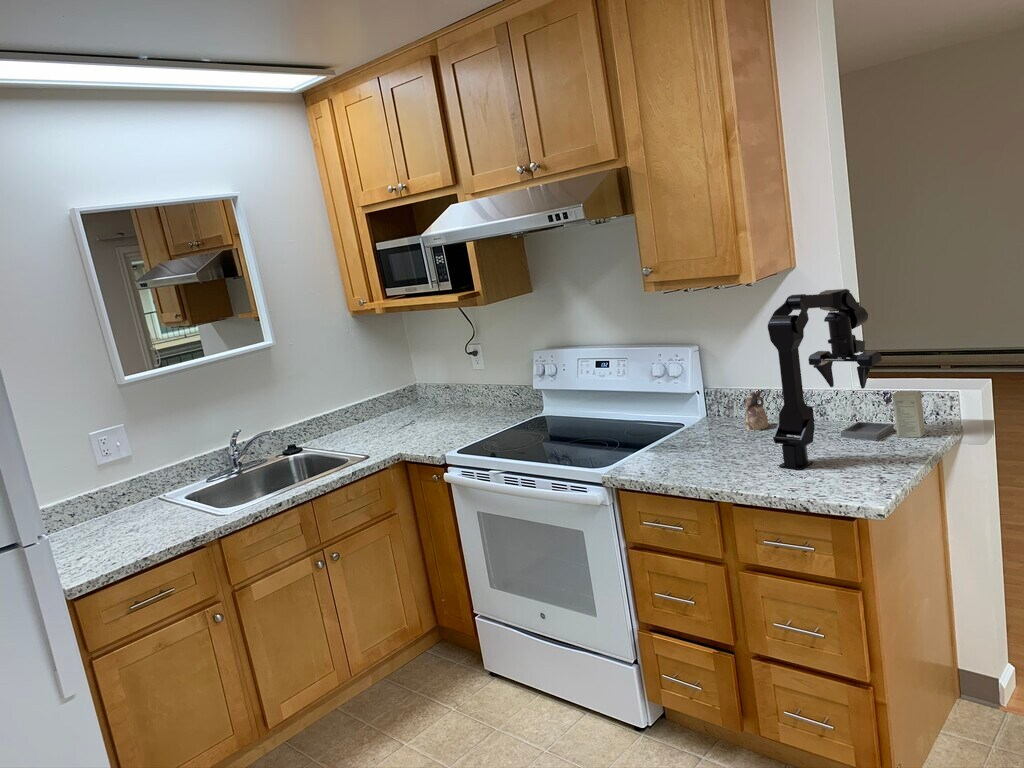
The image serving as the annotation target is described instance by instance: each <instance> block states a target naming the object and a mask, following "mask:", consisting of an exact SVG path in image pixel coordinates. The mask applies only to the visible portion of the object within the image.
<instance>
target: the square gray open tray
mask: <svg viewBox="0 0 1024 768" xmlns="http://www.w3.org/2000/svg"><path fill="white" fill-rule="evenodd" d="M894 431H895V427H894V423H879V422H868V421H867V422H866V421H857V422H855V423H854V424H851V425H850V426H848V427H846V428H844V429H843V430H840V438H841V437H847V438H846V439H852V438H858V439H857V440H864V439H869V440H868V441H875V440H877V441H879V440H881V439H883V438H884V437H886V436H887V435H890V432H891V433H892V432H894ZM885 435H886V436H885ZM883 436H884V437H883ZM880 438H881V439H880Z"/></svg>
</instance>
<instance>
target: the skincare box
mask: <svg viewBox="0 0 1024 768" xmlns="http://www.w3.org/2000/svg"><path fill="white" fill-rule="evenodd" d="M891 396H892V403H893V404H892V405H893V411H894V420H895V421H894V422H895V429H896V430H895V431H896V437H897V436H898V438H900V437H901V438H921V437H923V436H924V435H925V434H926V426H925V419H924V409H923V402H922V401H923V399H922V392H921V390H897V391H896V392H894V393H892V395H891Z"/></svg>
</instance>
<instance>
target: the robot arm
mask: <svg viewBox="0 0 1024 768" xmlns="http://www.w3.org/2000/svg"><path fill="white" fill-rule="evenodd" d="M809 309H820V310H823V311H826V312H827V311H829V312H827V315H826V316H825V317H824V320H823V321H824V322H826V323H827V324H828V325H827V326H828V331H829V332H828V333H829V339H827V344H830V346H831V347H830V348H831V351H830V350H818V351H816V352H814V353H811V354H810V355H809V356H808V358H807V359H808V365H809V366H812V367H813V368H815V369H816V370H817V371H818V372H819V373H820V374H821V376H822V377H823V378H824V379H825V381H826V383H827V384H828V385H829V387H830V388H834V387H835V386H834V385H835V384H834V382H835V381H834V376H833V375H834V374H833V367H832V366H833V363H834V362H854V363H855V362H856V363H857V365H859V366H856V370H857V375H858V380H859V385H860V388H861V389H862V390H863V389H865V387H866V383H867V380H868V376H869V373H870V371H871V369H872V367H874V366H875V365H877V364H878V363H880V362H882V354H881V353H880V352H879V351H878V350H877V351H876V350H871V351H870V350H867V351H865V350H866V349H865V348H866V347H865V346H866V341H865V340H860V339H857V337H856V335H855V334H853V331H852V330H853V329H856V328H858V327H860V326H862V325H864V324H866V322H867V321H868V318H869V314H868V312H867V309H865V308H864V307H863V306H861V304H860V302H859V301H857V300H856V299H855V297H854V296H853V293H851V292H850V289H848V288H842V289H826V290H823V291H821V292H819V293H817V294H806V293H803V294H801V293H800V294H791V295H788V297H787V298H786V299H785V301H784V303H782V304H781V305H780V306H778V308H777V309H776V310H774V311H773V314H771V317H770V319H769V321H768V323H767V331H768V335H769V341H770V342H771V343H772V345H773V346H774V347H775V349H776V350H777V352H778V360H779V362H778V363H779V370H780V379H781V387H782V397H783V406H782V407H781V409H780V411H779V414H778V423H777V425H776V428H775V431H774V433H773V436H772V439H773V441H774V444H776V445H777V444H780V445H781V448H782V449H781V450H782V457H783V462H781V463H780V464H779V465H778V467H779V468H785V469H792V470H801V471H802V470H803V469H805V468H807V467H808V466H810V465H812V464H813V463H814V460H812V459H811V460H810V459H809V456H808V448H807V447H808V445H809V444H813V442H814V437H815V422H816V420H815V416H814V408H813V407H812V406H811V405H810V406H809V405H807V404H806V402H805V400H804V399H805V398H804V390H803V389H804V387H803V381H802V379H803V378H802V371H801V362H800V351H799V347H800V345H801V343H802V341H803V340H804V329H805V328H806V325H807V324H808V322H809V313H808V310H809ZM799 310H800V312H799V314H792V313H793V311H799ZM791 314H792V315H791ZM858 353H859V354H858Z"/></svg>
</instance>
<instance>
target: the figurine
mask: <svg viewBox="0 0 1024 768" xmlns="http://www.w3.org/2000/svg"><path fill="white" fill-rule="evenodd" d="M761 394H762V391H761V389H760V390H758V391H757V392H756V393H755V391H753V390H752V391H749V392H748V393H747V395H745V401H744V403H743V405H744V408H745V411H746V412H745V423H744V426H745V427H744V430H745V429H747V430H746V431H748V430H760V431H762V430H761V429H764V430H766V429H768V428H767V427H769V420H768V416H767V413H766V411H765V409H764V404H765V403H764V399H763V398H762V396H761ZM759 401H760V403H759ZM765 428H766V429H765Z"/></svg>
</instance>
